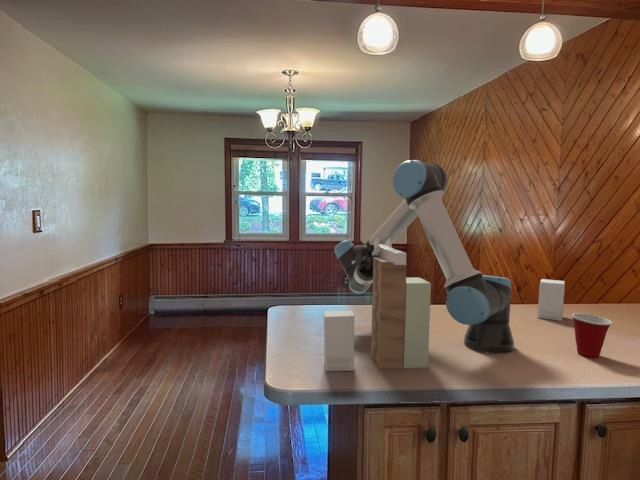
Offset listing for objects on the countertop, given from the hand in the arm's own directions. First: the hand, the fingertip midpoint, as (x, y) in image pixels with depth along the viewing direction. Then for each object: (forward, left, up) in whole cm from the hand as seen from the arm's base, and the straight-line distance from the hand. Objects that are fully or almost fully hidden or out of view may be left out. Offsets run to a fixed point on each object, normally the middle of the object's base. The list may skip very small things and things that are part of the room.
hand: (383, 242), depth 133 cm
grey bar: (-2, +4, -4) cm, 6 cm away
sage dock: (-9, +2, -34) cm, 36 cm away
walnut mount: (-3, +5, -34) cm, 35 cm away
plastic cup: (-59, -27, -34) cm, 73 cm away
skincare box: (+8, +15, -34) cm, 38 cm away
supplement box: (-52, -73, -35) cm, 96 cm away
